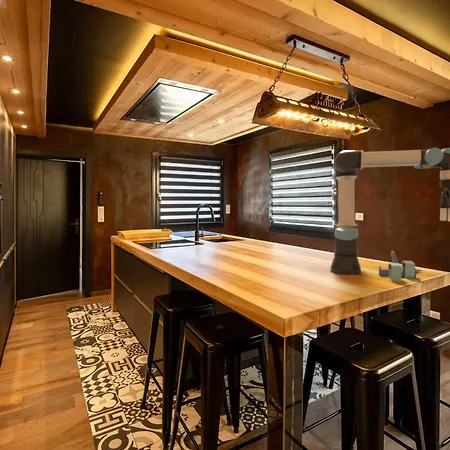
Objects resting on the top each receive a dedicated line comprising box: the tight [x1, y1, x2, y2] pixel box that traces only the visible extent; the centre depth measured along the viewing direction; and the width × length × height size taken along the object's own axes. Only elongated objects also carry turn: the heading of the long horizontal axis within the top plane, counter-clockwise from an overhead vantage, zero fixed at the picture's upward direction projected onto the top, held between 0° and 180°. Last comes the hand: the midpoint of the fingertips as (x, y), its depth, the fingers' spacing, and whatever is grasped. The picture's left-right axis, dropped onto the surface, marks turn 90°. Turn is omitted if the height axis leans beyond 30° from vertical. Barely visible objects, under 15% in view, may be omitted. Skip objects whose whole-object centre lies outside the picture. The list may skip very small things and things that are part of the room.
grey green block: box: [387, 262, 402, 283], centre depth 152 cm, size 5×8×7 cm, turn 159°
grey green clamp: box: [378, 260, 417, 280], centre depth 160 cm, size 16×8×7 cm, turn 69°
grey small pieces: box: [390, 250, 423, 274], centre depth 172 cm, size 10×11×15 cm
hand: (447, 221), depth 164 cm, fingers open, 13 cm apart
